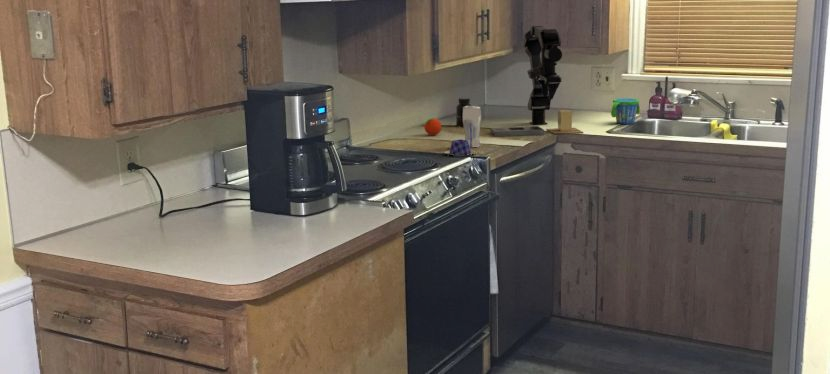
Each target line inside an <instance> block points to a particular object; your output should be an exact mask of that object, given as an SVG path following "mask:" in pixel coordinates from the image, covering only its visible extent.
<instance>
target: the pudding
mask: <svg viewBox="0 0 830 374" xmlns="http://www.w3.org/2000/svg"><path fill="white" fill-rule="evenodd" d="M471 151H472V149H471V148H470V146H469V142H468V141H467V140H465V139H453V140H452V141H451V145H450V148H449V150H447V151H444V152H443V154H444V153H449V154H454V155H467V154H470V153H471ZM473 151H474V152H476V154H478V153H477V151H476V150H473ZM471 154H472V153H471Z"/></svg>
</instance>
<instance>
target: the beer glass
mask: <svg viewBox="0 0 830 374" xmlns="http://www.w3.org/2000/svg"><path fill="white" fill-rule="evenodd" d="M481 108H482V107H481V106H480V105H479V106H478V105H471V106H465V107H463V126H464V127H463V131H464V140H467V141H468V142H469V146H470V147H478V148H480V147H481V141H480V132H481V127H482V126H481V125H482V109H481ZM479 146H480V147H479Z"/></svg>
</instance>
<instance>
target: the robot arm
mask: <svg viewBox="0 0 830 374" xmlns="http://www.w3.org/2000/svg"><path fill="white" fill-rule="evenodd" d="M559 33H560V32H558V30H557V29H556V28H545V27H544V26H542V25H532V26H530V29H529V30H528V31H527V32H526V33H525V34H524V37H523V39H522V46H523V48H524V52H525V53H526V55H527V56H528V57H529V63H530V69H528V70H527V71H526V72H527V75H528V78H529V79H531V81H532V90H531V92H530V94H529V99H528V100H527V101H528V102H527V110H528V111H531V121H529V124H531V125H532V126H539V125H540V126H542V125H548V122H546V111H547V110H548V111H550V109H551V103H552V100H553V99H554V96H555V95H556V92H557V89H558V88H559V86H560V85H561V83H562V77H561V76H560V75H559V74H557V72H556V66H557V65H558V64H557V63H558V62H559V61H561V59H562V57H563V52H562V50H561V49H560V48H558V47H561V44H562V39H561V37H560V34H559Z"/></svg>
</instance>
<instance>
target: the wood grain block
mask: <svg viewBox="0 0 830 374" xmlns="http://www.w3.org/2000/svg"><path fill="white" fill-rule="evenodd" d="M572 116H573V111H572V110H570V109H560V110H557V128H558V130H559V131H572V128H573V127H572V124H573V121H572V120H573V117H572Z"/></svg>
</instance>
